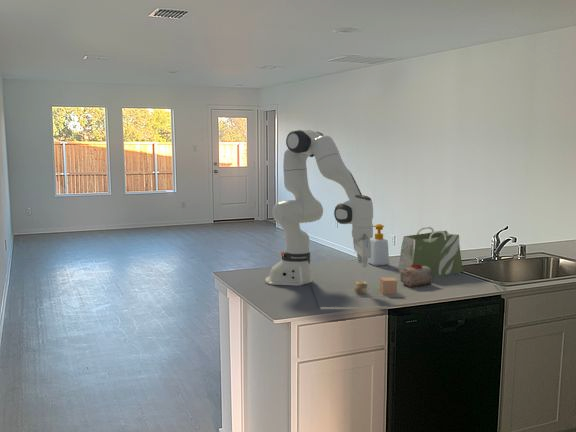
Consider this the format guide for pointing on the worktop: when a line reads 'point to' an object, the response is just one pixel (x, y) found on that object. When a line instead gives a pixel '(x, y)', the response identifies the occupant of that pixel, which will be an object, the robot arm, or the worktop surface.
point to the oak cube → (360, 287)
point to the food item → (416, 275)
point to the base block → (388, 285)
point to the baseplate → (373, 293)
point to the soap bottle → (379, 248)
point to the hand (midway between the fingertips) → (362, 265)
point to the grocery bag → (432, 252)
